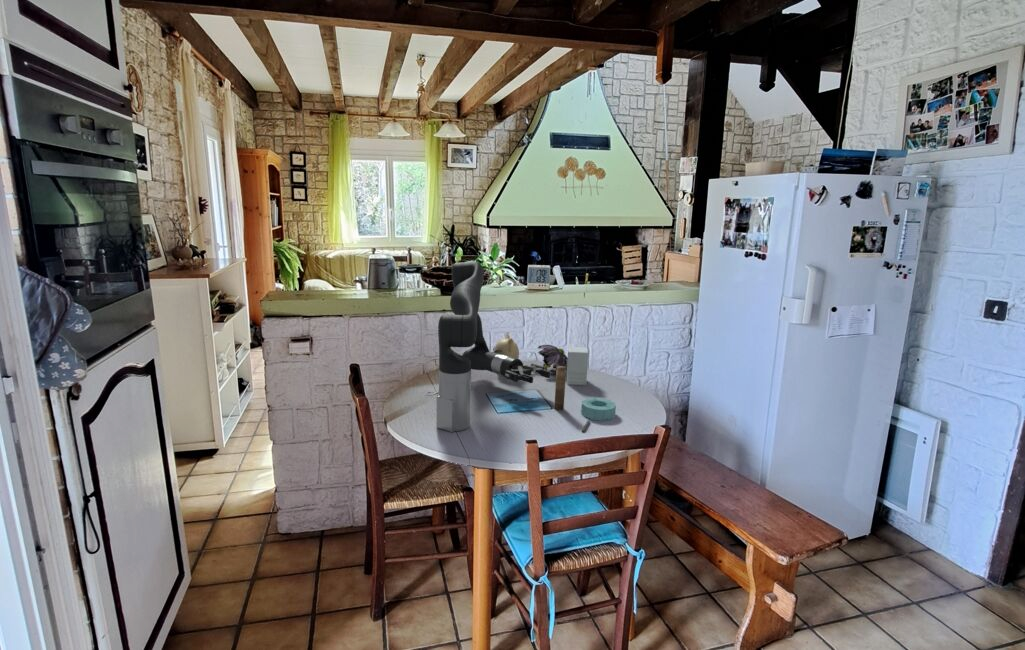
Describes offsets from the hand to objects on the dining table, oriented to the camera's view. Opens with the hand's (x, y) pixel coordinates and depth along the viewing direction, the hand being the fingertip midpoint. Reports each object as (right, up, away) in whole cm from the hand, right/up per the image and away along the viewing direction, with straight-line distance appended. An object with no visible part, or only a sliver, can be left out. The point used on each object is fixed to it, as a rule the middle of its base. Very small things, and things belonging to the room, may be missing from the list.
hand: (541, 377), depth 185 cm
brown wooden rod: (+6, -10, -4) cm, 12 cm away
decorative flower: (+7, -1, +35) cm, 36 cm away
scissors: (-30, -6, +9) cm, 32 cm away
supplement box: (+14, -4, +24) cm, 28 cm away
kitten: (-12, -1, +32) cm, 35 cm away
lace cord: (+12, -13, -18) cm, 26 cm away
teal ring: (+18, -11, -7) cm, 22 cm away
